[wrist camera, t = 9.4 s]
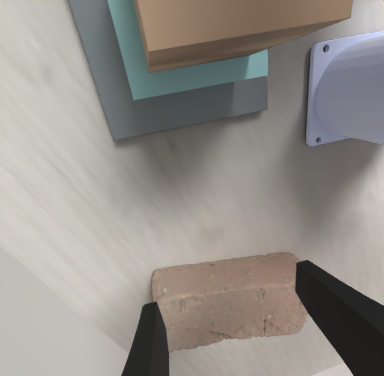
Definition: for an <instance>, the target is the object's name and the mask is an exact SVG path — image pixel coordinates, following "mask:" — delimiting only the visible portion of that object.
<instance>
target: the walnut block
mask: <svg viewBox="0 0 384 376" xmlns="http://www.w3.org/2000/svg"><path fill="white" fill-rule="evenodd" d="M352 1H353V0H133V3H134V8H135V12H136V17H137V21H138V26H139V30H140V35H141V39H142V44H143V48H144V53H145V57H146V61H147V66H148V70H149V73H154V72H160V71H165V70H171V69H177V68H182V67H188V66H194V65H199V64H205V63H211V62H216V61H222V60H228V59H233V58H239V57H245V56H250V55H252V54H255V53H258V52H260V51H263V50H266V49H268V48H271V47H274V46H276V45H279V44H282V43H284V42H287V41H290V40H292V39H295V38H298V37H300V36H303V35H306V34H308V33H311V32H314V31H316V30H319V29H322V28H324V27H327V26H330V25H332V24H335V23H338V22H340V21H343V20H346V19H348V18H351V10H352Z"/></svg>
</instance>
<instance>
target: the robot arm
mask: <svg viewBox="0 0 384 376" xmlns="http://www.w3.org/2000/svg"><path fill="white" fill-rule="evenodd" d="M324 46H325V48H326V49H325V51H323V47H324ZM317 138H318V140H317V141H316V139H317ZM348 138H355V139H360V140H364V141H369V142H373V143H378V144H382V145H384V31H378V32H373V33H367V34H361V35H356V36H350V37H344V38H339V39H333V40H327V41H322V42H318V43H315V44H314V45H313V46H312V48H311V58H310V76H309V94H308V112H307V130H306V144H307V145H308V146H317V145H321V144H326V143H330V142H335V141H339V140H344V139H348ZM295 292H296V294H297V295H298V297H299V299H300V301H301V302H302V304H303V306H304V307H305V309H306V311H307V312H308V313H309V315H310V316H311V318H312V319H313V320H314V322H315V323H316V324H317V326H318V327H319V328H320V330H321V331H322V332H323V334H324V335H325V336H326V338H327V339H328V341H329V342H330V343H331V345H332V346H333V347H334V349H335V350H336V351H337V353H338V354H339V355H340V357H341V358H342V359H343V361H344V362H345V364H346V365H347V366H348V368H349V369H350V371H351V372H352V374H353V376H384V306H383V305H381V304H380V303H378V302H376V301H374V300H372V299H370V298H369V297H367V296H365V295H363V294H362V293H360V292H358V291H357V290H355V289H353V288H352V287H350V286H348V285H347V284H345V283H343V282H342V281H340V280H338V279H337V278H335V277H334V276H332V275H331V274H329V273H327V272H326V271H324V270H323V269H321V268H320V267H318V266H316V265H315V264H313V263H312V262H310V261H308V260H305V261H302V262H298V263H296V281H295ZM121 376H169V350H168V341H167V332H166V327H165V324H164V321H163V318H162V315H161V312H160V309H159V306H158V303H157V301H156V302H152V303H149V304H145V305H144V306H143V307H142V311H141V316H140V320H139V323H138V327H137V331H136V334H135V337H134V341H133V344H132V347H131V350H130V353H129V356H128V359H127V362H126V365H125V367H124V370H123V372H122V375H121Z"/></svg>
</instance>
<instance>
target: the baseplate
mask: <svg viewBox="0 0 384 376" xmlns="http://www.w3.org/2000/svg"><path fill="white" fill-rule="evenodd" d="M69 4H70V7H71V10H72V13H73V16H74V19H75V22H76V25H77V28H78V32H79V35H80V38H81V41H82V44H83V47H84V50H85V53H86V56H87V60H88V63H89V66H90V69H91V72H92V75H93V78H94V81H95V84H96V87H97V91H98V94H99V97H100V100H101V103H102V106H103V109H104V112H105V115H106V119H107V122H108V125H109V128H110V131H111V134H112V137H113V140H114V141H115V140H120V139H125V138H130V137H135V136H140V135H145V134H150V133H155V132H160V131H165V130H170V129H175V128H180V127H185V126H190V125H195V124H199V123H204V122H209V121H214V120H219V119H224V118H229V117H234V116H239V115H244V114H249V113H254V112H259V111H264V110H267V76H261V77H256V78H250V79H245V80H240V81H234V82H229V83H224V84H218V85H213V86H208V87H202V88H197V89H192V90H186V91H181V92H176V93H170V94H165V95H159V96H154V97H149V98H143V99H138V100H133V96H132V92H131V88H130V84H129V81H128V77H127V73H126V69H125V65H124V61H123V58H122V54H121V50H120V46H119V42H118V39H117V35H116V31H115V27H114V23H113V19H112V16H111V12H110V8H109V4H108V0H69Z"/></svg>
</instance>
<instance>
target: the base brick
mask: <svg viewBox="0 0 384 376" xmlns="http://www.w3.org/2000/svg"><path fill="white" fill-rule="evenodd" d="M108 4H109V8H110V12H111V16H112V19H113V23H114V27H115V31H116V35H117V39H118V42H119V46H120V50H121V54H122V58H123V61H124V65H125V69H126V73H127V77H128V81H129V84H130V88H131V92H132V96H133V100H138V99H143V98H149V97H154V96H159V95H165V94H170V93H176V92H181V91H186V90H192V89H197V88H202V87H208V86H213V85H218V84H224V83H229V82H234V81H240V80H245V79H250V78H256V77H261V76H267V75H268V49H266V50H263V51H260V52H258V53H255V54H252V55H250V56H245V57H239V58H233V59H228V60H222V61H216V62H211V63H205V64H199V65H194V66H188V67H182V68H177V69H171V70H165V71H160V72H154V73H149V70H148V66H147V61H146V57H145V53H144V48H143V44H142V39H141V35H140V30H139V26H138V21H137V17H136V12H135V8H134V3H133V0H108Z"/></svg>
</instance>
